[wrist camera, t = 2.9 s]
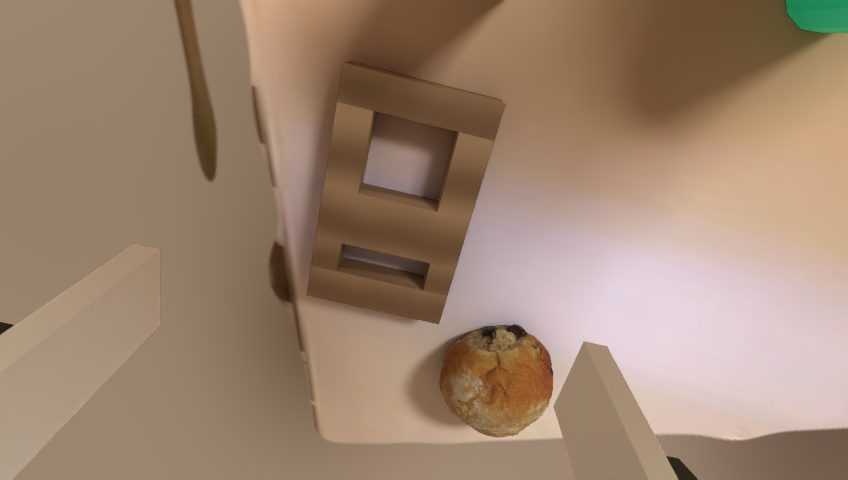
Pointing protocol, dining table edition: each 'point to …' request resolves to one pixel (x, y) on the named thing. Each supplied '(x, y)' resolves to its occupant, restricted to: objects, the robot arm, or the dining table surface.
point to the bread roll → (497, 379)
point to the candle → (819, 15)
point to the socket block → (398, 195)
